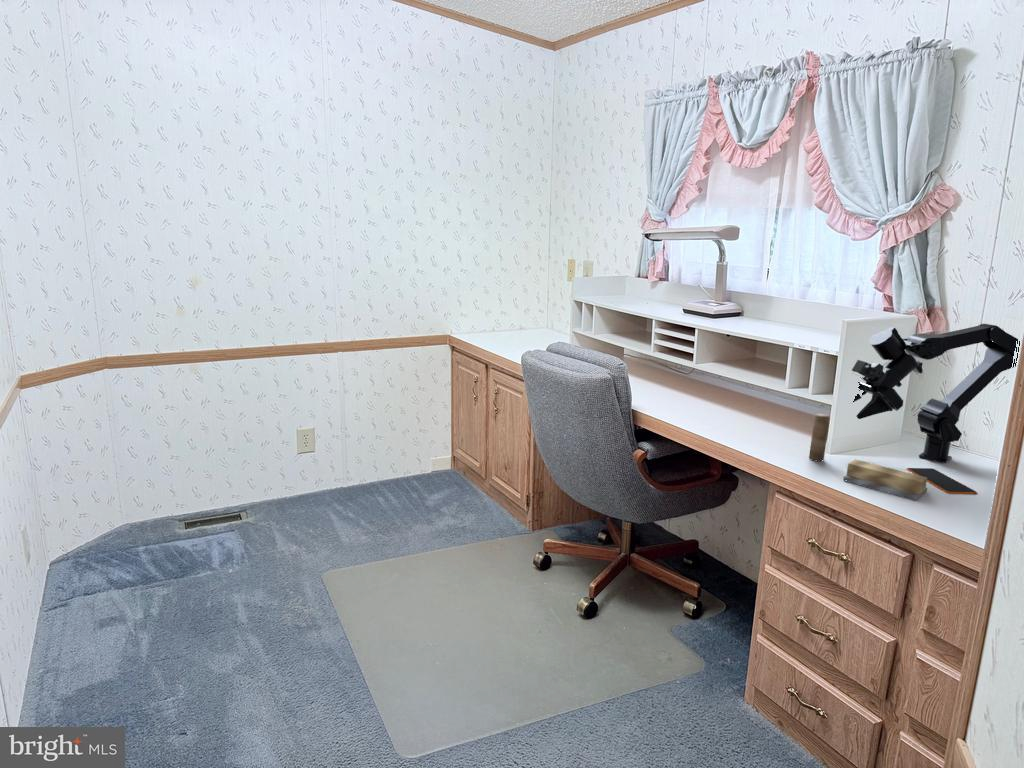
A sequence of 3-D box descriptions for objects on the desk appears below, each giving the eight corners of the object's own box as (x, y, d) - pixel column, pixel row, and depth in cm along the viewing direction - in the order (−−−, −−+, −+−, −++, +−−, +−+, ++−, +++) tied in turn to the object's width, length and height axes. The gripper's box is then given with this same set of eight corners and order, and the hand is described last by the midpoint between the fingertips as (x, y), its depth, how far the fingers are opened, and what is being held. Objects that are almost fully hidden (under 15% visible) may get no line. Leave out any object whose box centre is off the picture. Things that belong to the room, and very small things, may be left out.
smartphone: (932, 470, 176) (933, 467, 175) (978, 496, 159) (979, 492, 159) (904, 470, 175) (905, 467, 175) (947, 495, 159) (947, 492, 159)
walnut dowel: (812, 455, 183) (818, 412, 180) (825, 459, 180) (832, 415, 178) (806, 458, 180) (812, 415, 178) (820, 462, 178) (826, 418, 175)
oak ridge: (843, 480, 165) (845, 465, 164) (855, 473, 171) (857, 458, 170) (916, 500, 154) (919, 484, 153) (926, 491, 160) (929, 475, 159)
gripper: (854, 344, 184) (810, 383, 185) (900, 357, 166) (850, 400, 167) (877, 372, 187) (833, 411, 188) (924, 389, 169) (875, 431, 170)
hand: (847, 412), depth 178 cm, fingers open, 9 cm apart
